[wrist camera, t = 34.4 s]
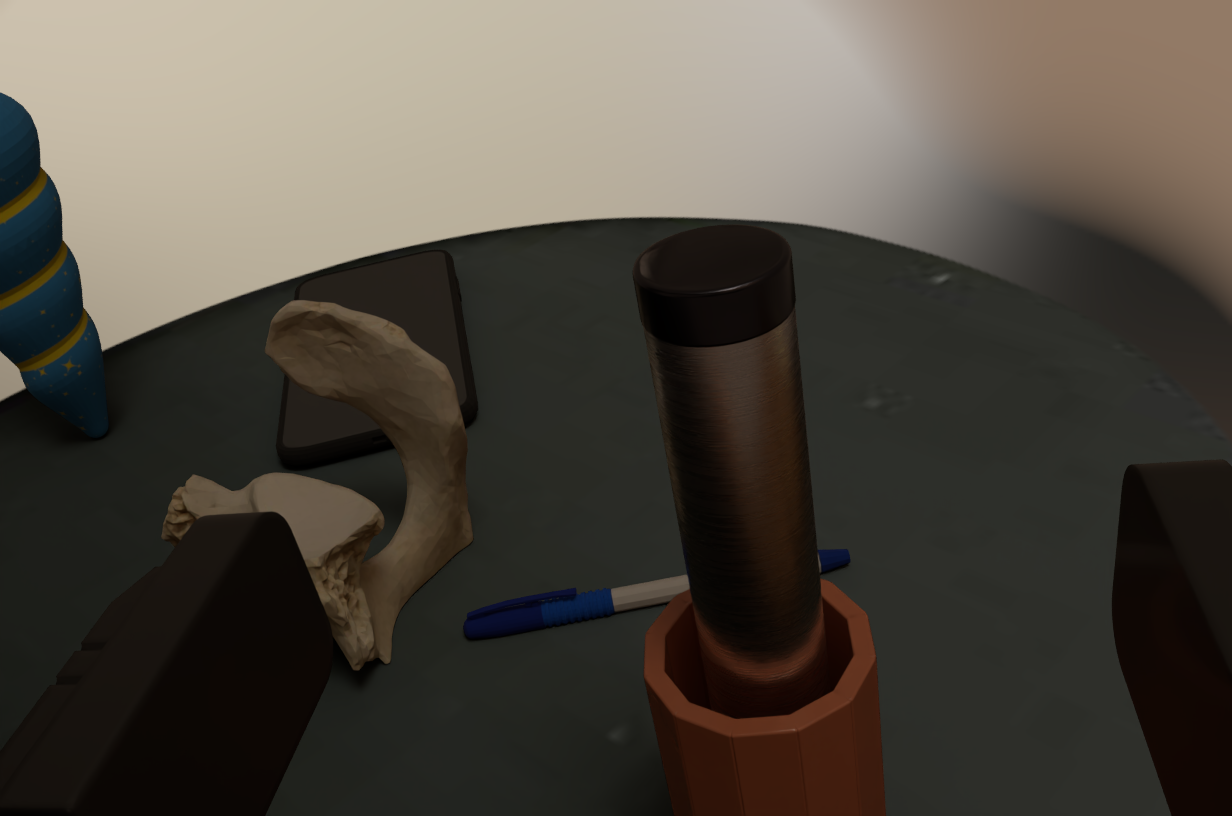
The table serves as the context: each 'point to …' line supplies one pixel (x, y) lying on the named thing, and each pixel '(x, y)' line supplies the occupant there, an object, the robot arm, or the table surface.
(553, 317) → the table surface
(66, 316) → the ornament
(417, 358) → the bone
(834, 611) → the pen cup
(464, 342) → the smartphone
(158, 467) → the table surface
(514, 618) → the ballpoint pen
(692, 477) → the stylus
